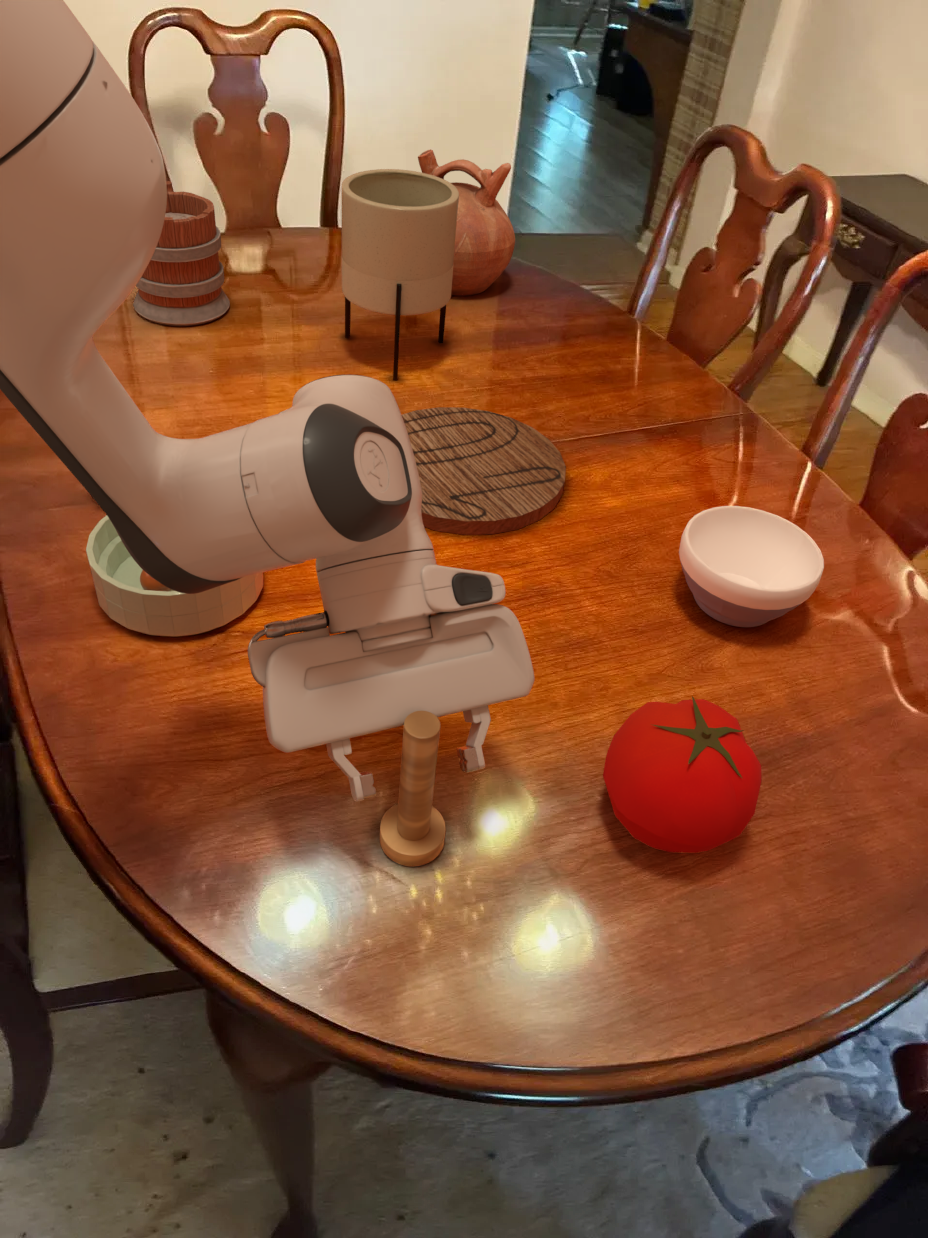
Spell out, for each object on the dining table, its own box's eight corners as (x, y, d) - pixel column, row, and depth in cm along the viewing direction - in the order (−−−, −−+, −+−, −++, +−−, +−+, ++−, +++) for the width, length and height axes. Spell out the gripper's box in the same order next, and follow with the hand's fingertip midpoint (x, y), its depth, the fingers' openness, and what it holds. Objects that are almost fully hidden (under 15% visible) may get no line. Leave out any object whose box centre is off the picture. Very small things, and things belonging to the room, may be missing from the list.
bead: (158, 606, 90) (154, 581, 88) (135, 593, 91) (130, 568, 89) (183, 589, 92) (179, 564, 90) (159, 576, 93) (155, 552, 91)
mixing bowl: (183, 667, 86) (175, 619, 82) (61, 595, 91) (48, 547, 87) (297, 578, 96) (295, 532, 92) (181, 519, 102) (175, 473, 98)
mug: (135, 329, 133) (118, 223, 123) (131, 275, 146) (115, 174, 136) (235, 325, 137) (226, 221, 127) (221, 272, 150) (212, 174, 140)
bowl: (640, 573, 102) (656, 518, 97) (745, 548, 107) (766, 494, 102) (718, 662, 93) (739, 605, 87) (829, 630, 98) (855, 575, 93)
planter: (372, 318, 143) (375, 159, 127) (463, 347, 138) (478, 186, 123) (317, 356, 132) (314, 187, 117) (414, 388, 128) (424, 217, 112)
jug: (523, 274, 160) (539, 151, 147) (488, 313, 148) (502, 182, 134) (425, 251, 164) (432, 129, 151) (383, 287, 151) (386, 157, 138)
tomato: (723, 902, 72) (765, 824, 65) (575, 843, 75) (599, 761, 68) (752, 780, 82) (791, 699, 75) (618, 731, 85) (644, 649, 77)
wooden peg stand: (420, 878, 72) (432, 765, 62) (366, 845, 73) (370, 729, 64) (456, 832, 75) (473, 718, 66) (404, 801, 77) (412, 686, 67)
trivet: (604, 503, 111) (607, 490, 110) (422, 557, 101) (423, 543, 99) (495, 405, 126) (496, 392, 125) (326, 442, 116) (326, 429, 114)
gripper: (246, 625, 62) (287, 827, 62) (522, 573, 69) (559, 755, 69) (238, 629, 68) (275, 813, 68) (492, 581, 75) (526, 748, 75)
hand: (420, 783), depth 68 cm, fingers open, 7 cm apart
